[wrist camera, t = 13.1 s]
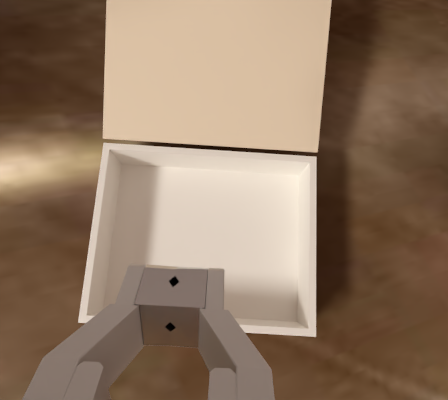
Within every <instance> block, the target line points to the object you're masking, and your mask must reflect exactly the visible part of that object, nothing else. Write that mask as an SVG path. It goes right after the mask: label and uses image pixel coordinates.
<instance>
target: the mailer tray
mask: <svg viewBox="0 0 448 400" xmlns="http://www.w3.org/2000/svg"><path fill="white" fill-rule="evenodd" d="M316 160H317V157H314V156H299V155H283V154H268V153H253V152H237V151H222V150H207V149H191V148H176V147H160V146H145V145H130V144H114V143H104V144H103V151H102V158H101V165H100V172H99V179H98V186H97V193H96V201H95V208H94V215H93V222H92V229H91V236H90V243H89V250H88V257H87V264H86V271H85V278H84V285H83V292H82V299H81V306H80V313H79V320H78V323H87V322H88V321H89V320H90V319H92V318H93V317H94V316H95V315H97V314H98V313H99V312H100V311H102V310H103V309H104V308H105V307H107V306H108V305H109V304H115V302H116V299H117V296H118V293H119V291H120V288H121V285H122V282H123V279H124V277H125V274H126V271H127V268H128V266H129V265H130V264H131V263H132V264H144V265H147V264H148V265H161V266H173V267H198V268H222V269H224V271H225V272H224V310H229V312H230V313H231V314H232V316H233V317H234V318H235V320H236V321H237V323H238V324H239V325H240V327H241V328H242V330H243V331H244V332H245V333H262V334H278V335H295V336H312V337H316Z"/></svg>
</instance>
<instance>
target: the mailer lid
mask: <svg viewBox="0 0 448 400" xmlns="http://www.w3.org/2000/svg"><path fill="white" fill-rule="evenodd" d="M331 2H332V0H107V2H106V39H105V75H104V111H103V139H116V140H131V141H147V142H162V143H177V144H193V145H208V146H223V147H239V148H254V149H269V150H285V151H300V152H315V153H317V152H318V144H319V133H320V122H321V111H322V100H323V89H324V78H325V67H326V56H327V45H328V35H329V24H330V13H331Z"/></svg>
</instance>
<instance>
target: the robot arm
mask: <svg viewBox="0 0 448 400" xmlns="http://www.w3.org/2000/svg"><path fill="white" fill-rule="evenodd" d="M224 272H225V271H224V269H222V268H198V267H173V266H161V265H148V264H147V265H144V264H132V263H131V264H130V265H129V266H128V268H127V271H126V274H125V277H124V279H123V282H122V285H121V288H120V291H119V293H118V296H117V299H116V302H115V304H109V305H108V306H107V307H105V308H104V309H103V310H102V311H100V312H99V313H98V314H97V315H95V316H94V317H93V318H92V319H90V320H89V321H88V322H87V323H86V324H84V325H83V326H82V327H81V328H79V329H78V330H77V331H76V332H74V333H73V334H72V335H71V336H69V337H68V338H67V339H66V340H64V341H63V342H62V343H61V344H59V345H58V346H57V347H56V348H54V349H53V350H52V351H51V352H49V353H48V354H47V355H46V356H44V357H43V359H42V361H41V363H40V365H39V367H38V369H37V371H36V373H35V375H34V377H33V379H32V381H31V383H30V385H29V387H28V389H27V391H26V393H25V395H24V397H23V399H22V400H111V398H110V394H109V389H108V388H109V387H110V386H111V384H112V383H113V382H114V381H115V380H116V379H117V377H118V376H119V375H120V374H121V373H122V372H123V370H124V369H125V368H126V367H127V366H128V364H129V363H130V362H131V361H132V360H133V359H134V357H135V356H136V355H137V354H138V353H139V352H140V350H141V349H142V348H143V345H154V346H179V347H192V348H198V349H199V351H200V354H201V356H202V358H203V360H204V362H205V364H206V366H207V368H208V370H209V372H210V379H209V393H208V400H275V398H274V389H273V379H272V369H271V368H270V367H269V365H268V364H267V363H266V361H265V360H264V358H263V357H262V356H261V354H260V353H259V352H258V350H257V349H256V347H255V346H254V345H253V343H252V342H251V341H250V339H249V338H248V336H247V335H246V334H245V332H244V331H243V330H242V328H241V327H240V325H239V324H238V323H237V321H236V320H235V318H234V317H233V316H232V314H231V313H230V312H229V310H224Z"/></svg>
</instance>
